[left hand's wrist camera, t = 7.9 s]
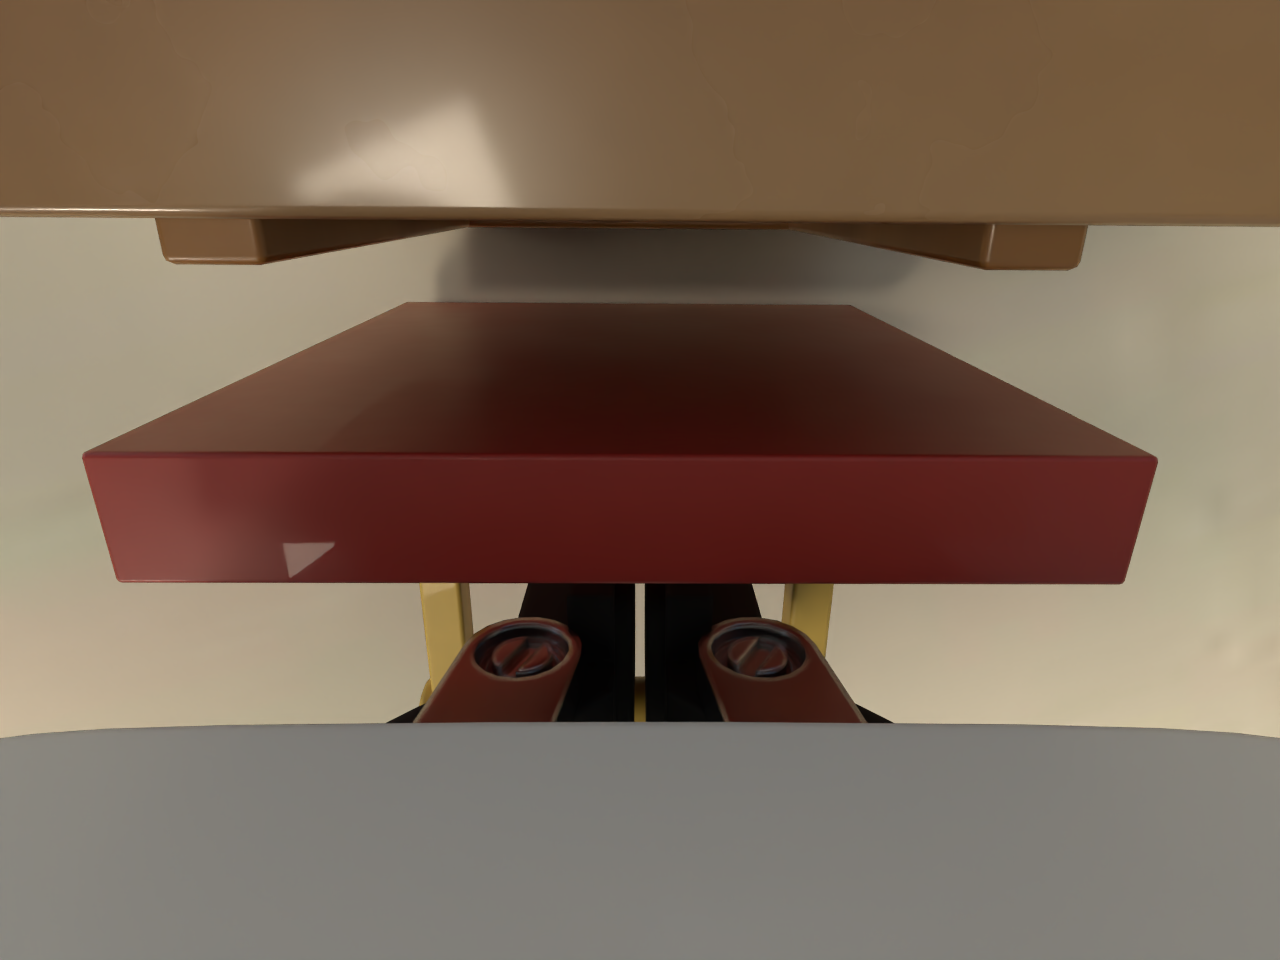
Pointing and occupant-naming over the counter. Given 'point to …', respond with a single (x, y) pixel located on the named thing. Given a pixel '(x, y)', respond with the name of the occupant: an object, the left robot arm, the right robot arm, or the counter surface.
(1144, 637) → the counter surface
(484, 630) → the left robot arm
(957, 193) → the cabinet
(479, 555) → the drawer
